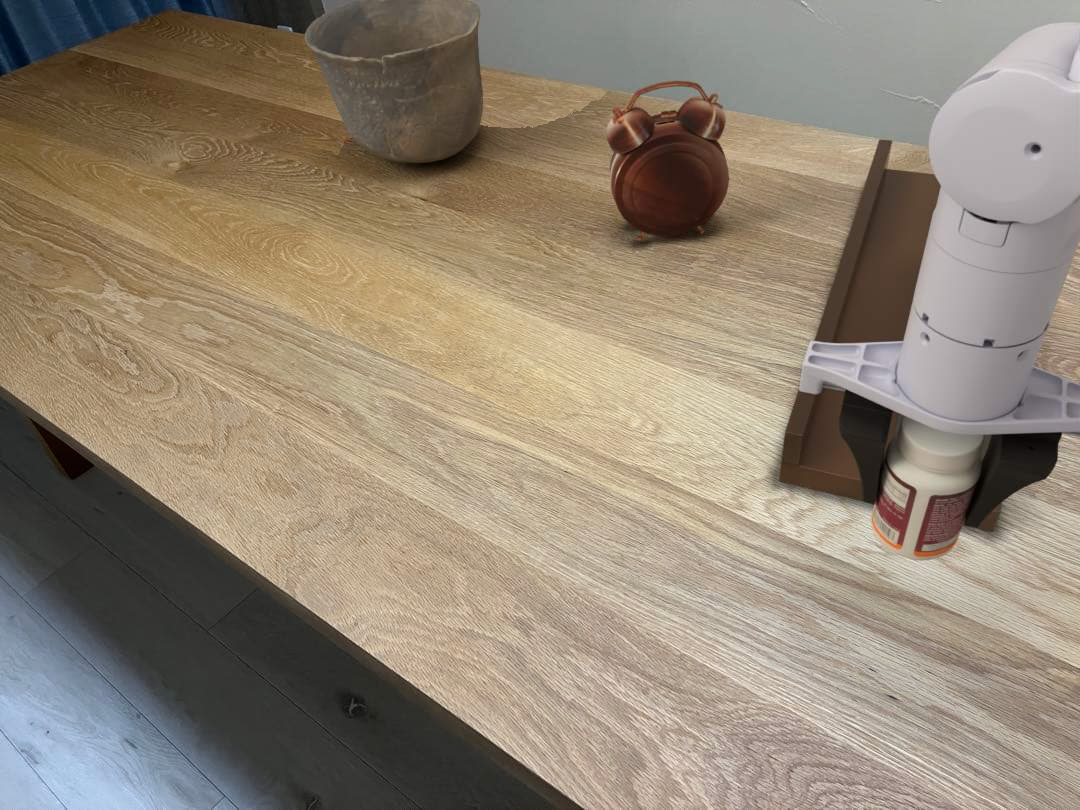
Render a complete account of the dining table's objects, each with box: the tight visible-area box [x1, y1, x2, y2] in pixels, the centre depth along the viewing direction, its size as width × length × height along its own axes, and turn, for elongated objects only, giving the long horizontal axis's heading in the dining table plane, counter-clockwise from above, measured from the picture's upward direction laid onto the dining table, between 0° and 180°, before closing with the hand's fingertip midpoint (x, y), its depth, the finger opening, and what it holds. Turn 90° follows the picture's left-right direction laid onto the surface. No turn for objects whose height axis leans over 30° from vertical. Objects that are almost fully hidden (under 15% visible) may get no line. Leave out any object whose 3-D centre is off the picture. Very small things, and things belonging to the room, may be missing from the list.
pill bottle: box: [870, 415, 985, 561], centre depth 49 cm, size 5×5×8 cm
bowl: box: [304, 0, 484, 164], centre depth 99 cm, size 18×18×15 cm
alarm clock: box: [605, 80, 730, 242], centre depth 83 cm, size 11×5×15 cm, turn 94°
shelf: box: [778, 138, 1002, 532], centre depth 74 cm, size 14×41×5 cm, turn 157°
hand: (921, 501), depth 51 cm, fingers closed on pill bottle, 5 cm apart
